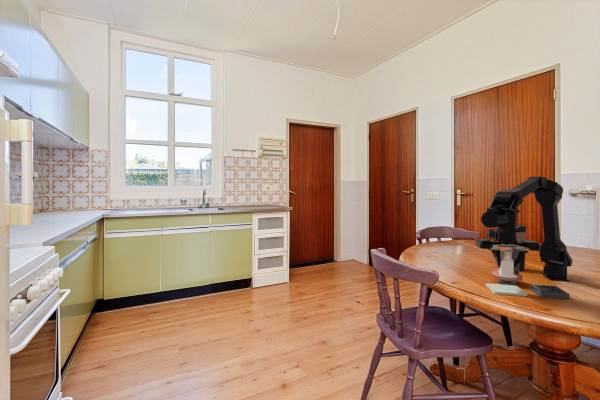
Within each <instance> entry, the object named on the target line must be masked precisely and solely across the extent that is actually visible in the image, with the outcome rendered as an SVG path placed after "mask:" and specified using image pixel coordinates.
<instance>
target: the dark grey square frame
mask: <svg viewBox="0 0 600 400" xmlns="http://www.w3.org/2000/svg"><path fill="white" fill-rule="evenodd" d="M529 290H530V291H531V292H532V293H534V294H535V293H536V294H535V295H537V296H538V297H539V298H544V299H553V300H556V299H557V300H566V299H569V300H570V293H569V292H567V291H565V290H563V289H562V288H561V287H558V286H556V285H548V284H533V283H530V284H529Z"/></svg>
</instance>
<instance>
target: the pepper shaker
mask: <svg viewBox="0 0 600 400" xmlns="http://www.w3.org/2000/svg"><path fill="white" fill-rule="evenodd" d="M500 250H501V264H500V268H499V270H500V276H502V277H509V278H513V277H514V261H513V259H512V251H511V250H505V249H500Z"/></svg>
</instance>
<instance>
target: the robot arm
mask: <svg viewBox="0 0 600 400" xmlns="http://www.w3.org/2000/svg"><path fill="white" fill-rule="evenodd" d="M563 193H564V187H563V186H562V185H560V184H559V182H556V181H553V180H551V179H548V178H547V177H545V176H541V175H539V176H538V175H537V176H530V177H527V179H526V180H524V181H523V182H521V183H518V184H517V185H515V186H513V187H512V188H508V189H502V190H499V191H497V192H495V195H494V197H493V199H492V200H491V202H490V205H489V207H488V208H486V211H485V212H483V213H482V215H481V217H480V221H481V223H482V225H483V226H484V227H485V228H491V229H486V237H487V238H477V239H476V240H475V247H477V248H479V249H482V250H489V251H490V252H491V254H492V255H493V257H494V260H495V263H496V265H497V267H498V268H499V269H500V264H501V258H502V255H501V250H502V249H499V247H501V248H505V247H515V248H513V261H514V268H516V266H517V264H518V263H519V261H520V259H521V258H522V257H523V256H524V254H525V255H526V254H528V253H529V251H530V252H531V251H533V252H534V251H535V252H538V253H539V257H540V258H539V259H540V262H542V263H544V265H543V270H542V272H543V273H542V276H543V277H545V278H547V280H550V281H561V282H562V281H563V282H570V279H569V278H568V267H570V268H571V267H572V264H573V258H572V256H571V255H570V253H569V252H568V249H567V245H566V244H565V243H564V242H563V241H562V240H561V233H560V222H559V208H558V205H559V204H560V202H561V200H562V198H563ZM530 194H534V199H535V201H536V202H537V203H538V204H539V205H540V207H541V216H542V227H543V228H542V229H543V237H544V238H543V239H544V240H543V241H542V243H540V242H538V241H535V240H532V239H531V240H530V239H526V240H521V242H518V241H517V232H518V229H517V225H518V213H521V210H520V209H518V207H519V206H521V204H522V203H524V198H525V197H527V196H528V195H530ZM492 228H496V230H494V229H492ZM490 239H492V240H490ZM527 249H528V250H529V251H528V250H527Z"/></svg>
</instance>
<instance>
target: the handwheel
mask: <svg viewBox="0 0 600 400" xmlns="http://www.w3.org/2000/svg"><path fill="white" fill-rule="evenodd" d="M491 276H492V277H493V278H496V279H497V280H498V279H502V280H508V281H515V282H519V281H523V275H522V274H521V273H520V271H519V264H517V266H516V268H514V277H513V278H509V277H502V276H500V269H499V270H498V269H497V270H492V271H491Z"/></svg>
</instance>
